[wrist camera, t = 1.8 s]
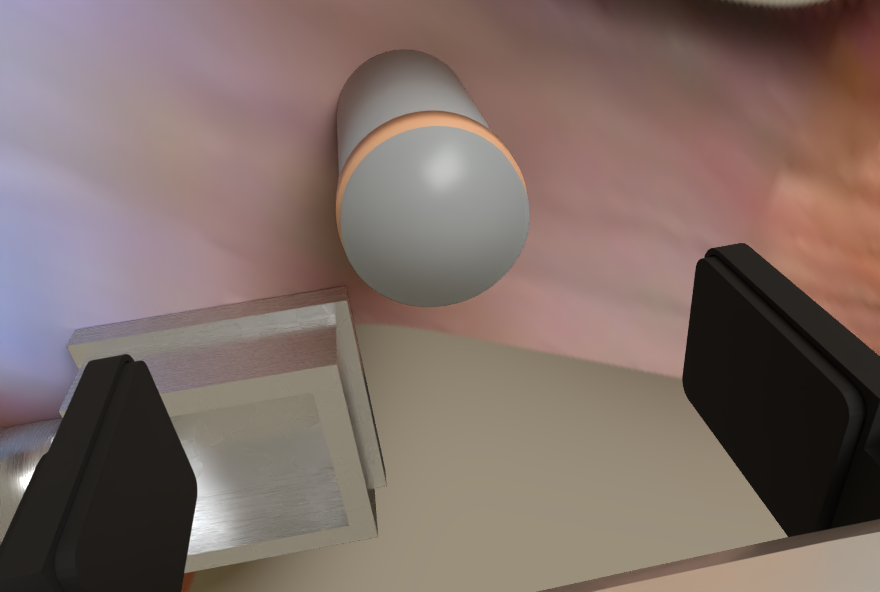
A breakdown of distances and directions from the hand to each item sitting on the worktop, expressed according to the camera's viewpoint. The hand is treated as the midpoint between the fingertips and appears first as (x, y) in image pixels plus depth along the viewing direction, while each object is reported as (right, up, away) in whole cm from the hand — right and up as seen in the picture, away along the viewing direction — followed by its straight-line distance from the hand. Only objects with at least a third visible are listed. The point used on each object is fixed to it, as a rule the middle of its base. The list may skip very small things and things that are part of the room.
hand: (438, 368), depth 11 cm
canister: (-1, +7, +11) cm, 13 cm away
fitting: (-11, -4, +16) cm, 20 cm away
